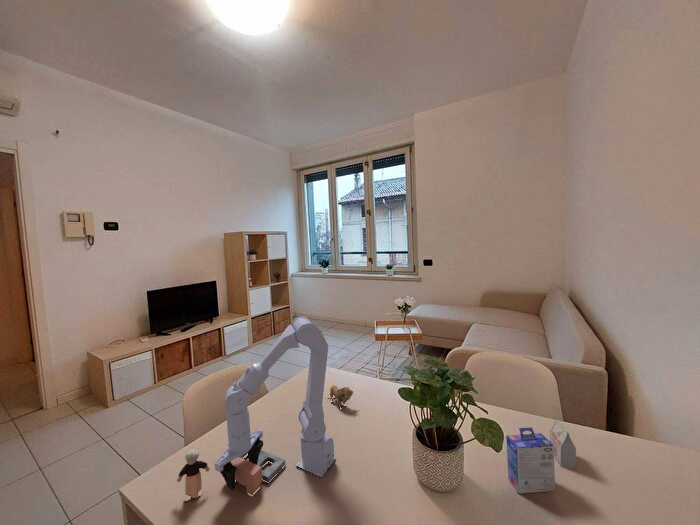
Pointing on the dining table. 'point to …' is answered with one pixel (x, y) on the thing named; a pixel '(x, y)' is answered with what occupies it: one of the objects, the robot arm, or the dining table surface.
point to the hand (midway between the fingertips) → (242, 477)
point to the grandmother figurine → (192, 473)
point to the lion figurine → (341, 394)
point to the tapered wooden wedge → (248, 474)
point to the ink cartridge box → (530, 462)
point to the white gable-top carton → (563, 446)
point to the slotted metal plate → (273, 469)
